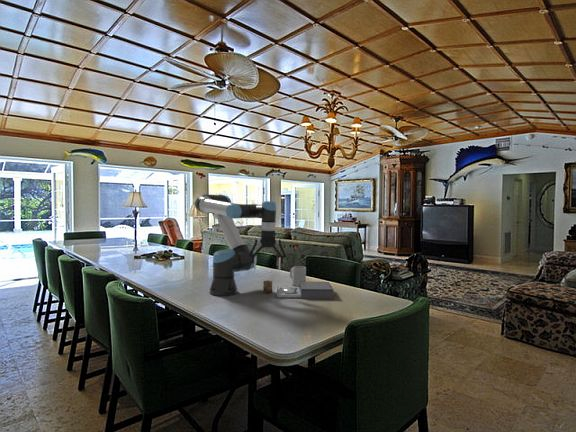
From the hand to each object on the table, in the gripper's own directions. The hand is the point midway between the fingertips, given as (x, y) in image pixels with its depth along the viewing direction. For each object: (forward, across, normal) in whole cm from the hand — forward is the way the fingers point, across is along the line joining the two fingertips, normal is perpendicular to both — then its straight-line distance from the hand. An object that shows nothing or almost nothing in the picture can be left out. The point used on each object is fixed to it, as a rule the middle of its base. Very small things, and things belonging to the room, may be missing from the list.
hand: (267, 269), depth 184 cm
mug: (+15, +19, +26) cm, 36 cm away
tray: (+14, +15, +4) cm, 21 cm away
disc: (+13, +13, +4) cm, 18 cm away
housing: (+14, +27, +3) cm, 31 cm away
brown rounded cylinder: (+14, +1, +8) cm, 16 cm away
